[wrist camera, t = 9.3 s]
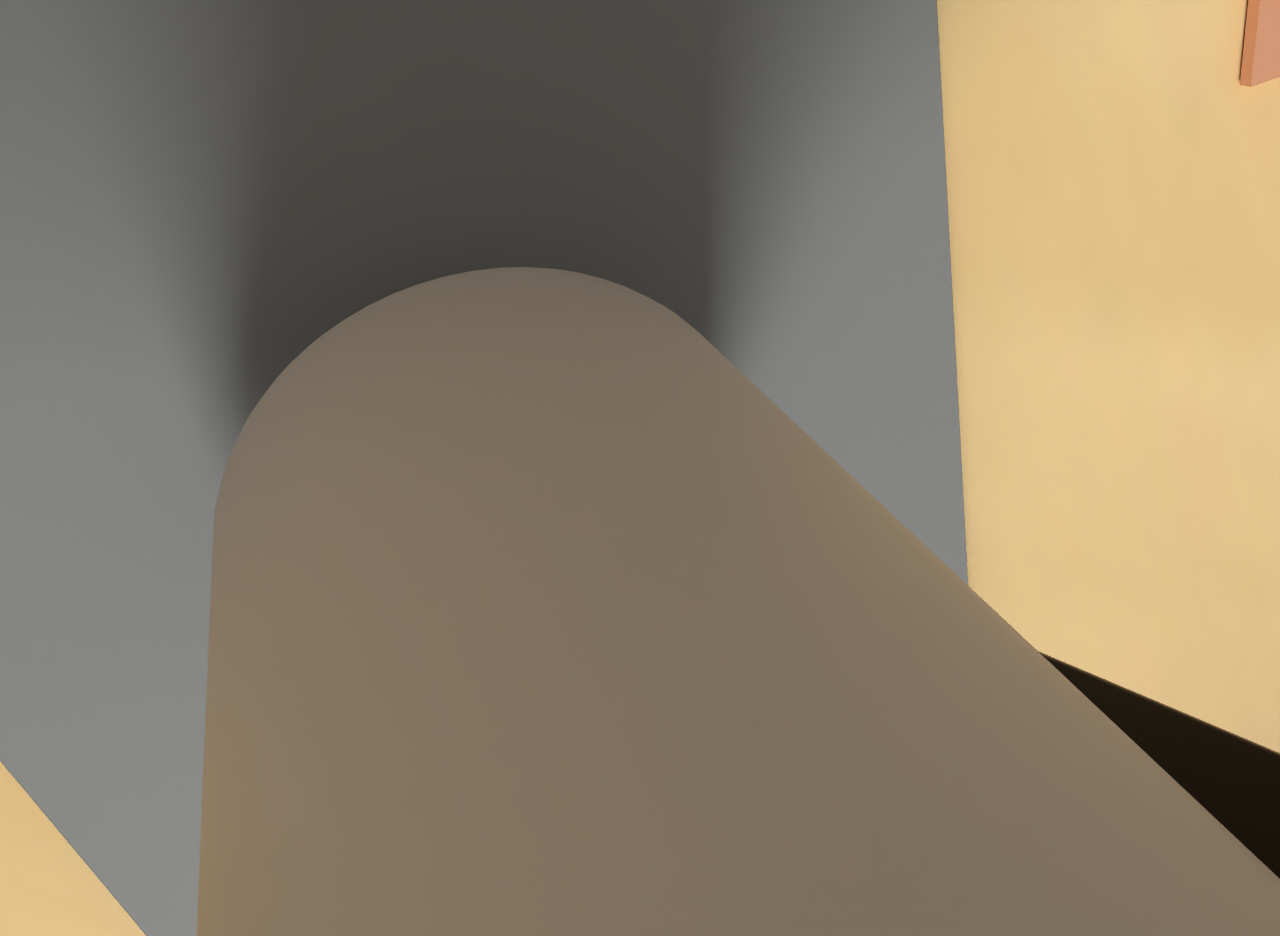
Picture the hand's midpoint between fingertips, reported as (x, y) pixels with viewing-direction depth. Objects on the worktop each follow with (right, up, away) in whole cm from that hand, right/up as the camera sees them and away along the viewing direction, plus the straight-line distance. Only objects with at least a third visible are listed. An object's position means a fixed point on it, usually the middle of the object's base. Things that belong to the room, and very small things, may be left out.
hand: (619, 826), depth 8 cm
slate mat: (-2, +3, +6) cm, 7 cm away
